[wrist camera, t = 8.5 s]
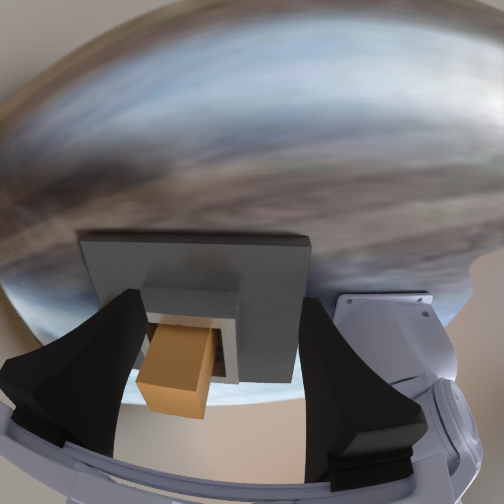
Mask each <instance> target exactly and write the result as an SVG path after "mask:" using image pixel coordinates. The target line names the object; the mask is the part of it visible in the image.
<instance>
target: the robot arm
mask: <svg viewBox="0 0 504 504" xmlns="http://www.w3.org/2000/svg"><path fill="white" fill-rule="evenodd" d="M419 298H420V299H419ZM349 299H351V300H350V301H347V300H349ZM432 299H433V296H432V295H431V294H430V293H411V294H343V295H340V296H339V297H338V299H337V304H336V308H335V312H334V316H333V321H332V320H331V318H330V317H329V315H328V314H327V312H326V310H325V309H324V307H323V305H322V303H321V301H320V300H319V299H318V298H309V297H303V303H302V310H301V317H300V323H299V330H298V341H299V356H300V363H301V370H302V377H303V384H304V391H305V400H306V464H305V481H304V484H246V483H233V482H222V481H213V480H206V479H199V478H192V477H186V476H180V475H175V474H170V473H165V472H161V471H156V470H152V469H148V468H144V467H140V466H136V465H133V464H129V463H126V462H123V461H119V460H116V459H113V449H114V439H115V431H116V424H117V419H118V413H119V409H120V404H121V400H122V396H123V393H124V389H125V385H126V383H127V380H128V377H129V375H130V372H131V370H132V368H133V365H134V363H135V361H136V358H137V356H138V354H139V351H140V349H141V347H142V344H143V342H144V339H145V335H146V332H147V328H148V324H149V321H148V318H147V315H146V311H145V308H144V304H143V301H142V297H141V294H140V290H139V289H126V290H125V291H124V292H122V293H121V294H120V295H118V296H117V297H116V298H114V299H113V300H112V301H111V302H109V303H108V304H107V305H106V306H104V307H103V308H102V309H101V310H99V311H98V312H97V313H96V314H94V315H93V316H92V317H90V318H89V319H88V320H86V321H85V322H84V323H82V324H81V325H80V326H78V327H77V328H75V329H74V330H72V331H71V332H69V333H67V334H66V335H64V336H62V337H61V338H59V339H57V340H55V341H53V342H51V343H49V344H47V345H46V346H43V347H41V348H39V349H37V350H34V351H32V352H29V353H27V354H24V355H21V356H17V357H14V358H11V359H7V360H6V361H5V363H4V364H3V366H2V368H1V369H0V389H1V390H2V391H3V392H4V393H5V395H6V396H7V397H8V398H9V399H10V400H11V401H12V402H13V403H14V404H15V405H16V408H15V410H13V409H12V408H10V407H9V406H7V405H6V404H4V403H2V402H1V401H0V455H2V456H3V457H4V458H6V459H7V460H8V461H10V462H11V463H12V464H14V465H15V466H17V467H18V468H20V469H21V470H23V471H24V472H26V473H27V474H29V475H30V476H32V477H33V478H35V479H37V480H38V481H40V482H42V483H43V484H45V485H47V486H48V487H50V488H52V489H54V490H56V491H57V492H59V493H61V494H63V495H65V496H67V497H68V498H67V502H66V504H202V503H197V502H191V501H187V500H182V499H177V498H173V497H168V496H164V495H160V494H156V493H152V492H148V491H144V490H141V489H137V488H134V487H130V486H127V485H123V484H120V483H117V482H116V481H114V480H112V479H111V478H110V477H109V476H108V475H105V474H103V473H106V474H109V475H112V476H115V477H118V478H121V479H124V480H127V481H130V482H134V483H137V484H141V485H144V486H148V487H152V488H156V489H160V490H165V491H169V492H174V493H179V494H184V495H190V496H196V497H203V498H210V499H218V500H228V501H240V502H260V503H252V504H462V502H461V499H460V498H461V496H462V495H463V494H464V492H465V491H466V490H467V488H468V487H469V486H470V484H471V483H472V482H473V480H474V479H475V477H476V476H477V474H478V472H479V470H480V468H481V461H482V457H483V451H482V445H481V442H480V439H479V437H478V433H477V429H476V425H475V422H474V419H473V416H472V413H471V411H470V408H469V406H468V404H467V402H466V400H465V398H464V396H463V394H462V393H461V391H460V389H459V388H458V386H457V385H456V384H455V383H454V381H455V378H456V374H457V357H456V352H455V349H454V347H453V344H452V342H451V340H450V339H449V337H448V335H447V333H446V331H445V329H444V327H443V326H442V324H441V322H440V320H439V319H438V317H437V315H436V313H435V312H434V310H433V308H432V307H431V305H430V304H431V301H432ZM92 468H93V469H92ZM94 469H95V470H94ZM97 470H98V471H97ZM99 471H101V472H103V473H101V472H99Z"/></svg>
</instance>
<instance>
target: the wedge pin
mask: <svg viewBox="0 0 504 504" xmlns="http://www.w3.org/2000/svg"><path fill="white" fill-rule="evenodd" d="M217 344H218V334H217V328H205V327H192V326H180V325H170V324H160V323H159V324H158V327H157V329H156V331H155V334H154V336H153V339H152V341H151V343H150V346H149V348H148V351H147V353H146V356H145V358H144V361H143V363H142V366H141V368H140V371H139V373H138V376H137V379H136V381H135V382H136V384H137V386H138V388H139V390H140V392H141V394H142V396H143V398H144V400H145V401H146V403H147V405H148V407H149V409H150V410H151V411H154V412H159V413H165V414H170V415H176V416H182V417H189V418H195V419H203V418H204V412H205V407H206V402H207V396H208V391H209V386H210V380H211V375H212V370H213V365H214V359H215V354H216V349H217Z"/></svg>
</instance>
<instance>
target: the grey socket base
mask: <svg viewBox="0 0 504 504" xmlns="http://www.w3.org/2000/svg"><path fill="white" fill-rule="evenodd" d="M80 244H81V248H82V251H83V255H84V258H85V261H86V264H87V268H88V271H89V274H90V277H91V280H92V283H93V286H94V288H95V291H96V294H97V297H98V299H99V302H100V305H101V307H100V309H99V310H101V309H102V308H103V307H104V306H106V305H107V304H108V303H109V302H111V301H112V300H113V299H114V298H116V297H117V296H118V295H120V294H121V293H122V292H124V291H125V290H126V289H139V290H140V294H141V297H142V301H143V304H144V308H145V311H146V315H147V318H148V321H149V324H148V328H147V332H146V335H145V339H144V342H143V344H142V347H141V349H140V351H139V354H138V356H137V358H136V361H135V363H134V365H133V368H132V369H138V370H140V368H141V366H142V363H143V361H144V358H145V356H146V353H147V351H148V348H149V346H150V343H151V341H152V339H153V336H154V334H155V331H156V329H157V327H158V324H159V323H160V324H170V325H180V326H192V327H205V328H217V334H218V344H217V349H216V354H215V359H214V365H213V370H212V375H211V380H210V382H213V383H225V384H239V382H256V383H291V380H292V375H293V370H294V364H295V358H296V353H297V347H298V330H299V323H300V317H301V310H302V303H303V297H305V295H306V287H307V280H308V272H309V264H310V256H311V243H310V239H309V237H294V236H261V235H221V234H162V233H88V234H87V235H86V236H85V237H84V238H83V239H82V240H81V241H80ZM99 310H98V311H99Z"/></svg>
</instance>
